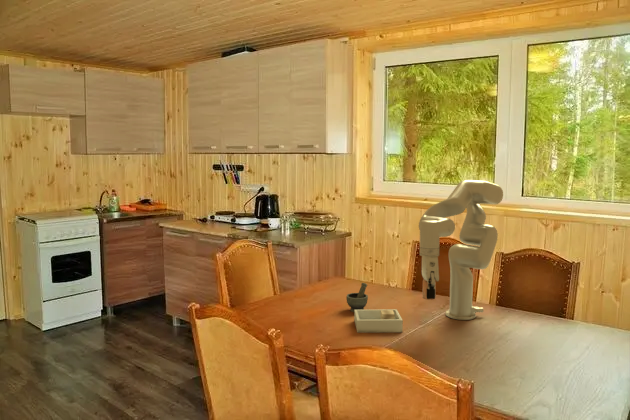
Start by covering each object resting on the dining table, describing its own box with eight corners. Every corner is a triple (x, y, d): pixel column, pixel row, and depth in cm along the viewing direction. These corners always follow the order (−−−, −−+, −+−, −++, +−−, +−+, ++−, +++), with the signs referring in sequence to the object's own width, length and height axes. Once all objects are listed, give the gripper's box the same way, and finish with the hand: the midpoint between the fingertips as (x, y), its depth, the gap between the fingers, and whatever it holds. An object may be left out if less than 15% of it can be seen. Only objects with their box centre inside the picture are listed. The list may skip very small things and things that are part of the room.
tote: (396, 320, 220) (396, 309, 219) (402, 332, 206) (402, 320, 205) (354, 321, 220) (354, 309, 219) (357, 332, 206) (357, 320, 205)
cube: (392, 322, 215) (392, 310, 215) (394, 326, 210) (394, 314, 210) (380, 322, 215) (380, 310, 215) (382, 326, 210) (382, 314, 210)
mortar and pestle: (357, 315, 228) (357, 288, 226) (342, 310, 234) (342, 284, 233) (374, 309, 235) (374, 283, 234) (358, 305, 242) (358, 280, 241)
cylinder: (433, 295, 208) (434, 278, 207) (436, 299, 203) (437, 282, 202) (421, 296, 208) (421, 279, 207) (424, 299, 203) (424, 282, 202)
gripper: (444, 256, 194) (444, 302, 197) (433, 246, 211) (433, 289, 213) (424, 256, 194) (424, 303, 196) (415, 247, 211) (415, 290, 213)
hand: (429, 295), depth 205 cm, fingers closed on cylinder, 5 cm apart
